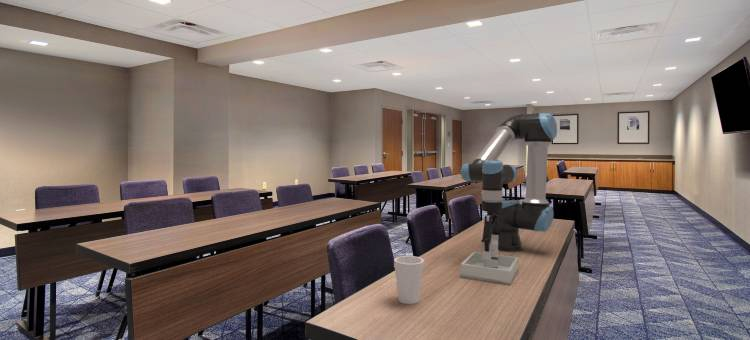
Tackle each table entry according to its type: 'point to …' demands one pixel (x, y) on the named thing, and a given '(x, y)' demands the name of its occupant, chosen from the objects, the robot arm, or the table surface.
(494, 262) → the ink box
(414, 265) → the foam cup
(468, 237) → the table surface
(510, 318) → the table surface
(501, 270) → the tray
